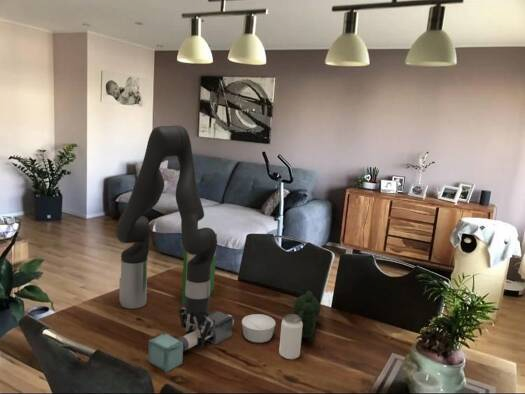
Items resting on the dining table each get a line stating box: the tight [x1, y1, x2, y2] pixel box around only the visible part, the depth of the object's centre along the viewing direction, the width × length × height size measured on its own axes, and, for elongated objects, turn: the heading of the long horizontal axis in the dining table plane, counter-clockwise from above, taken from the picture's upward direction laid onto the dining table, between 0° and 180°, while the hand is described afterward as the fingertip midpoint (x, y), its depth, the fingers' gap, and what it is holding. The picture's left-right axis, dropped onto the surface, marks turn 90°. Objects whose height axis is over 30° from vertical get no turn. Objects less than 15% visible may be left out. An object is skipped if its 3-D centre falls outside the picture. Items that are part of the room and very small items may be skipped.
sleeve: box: [199, 309, 234, 346], centre depth 137 cm, size 8×8×6 cm
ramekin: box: [241, 313, 276, 344], centre depth 139 cm, size 11×11×5 cm
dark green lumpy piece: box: [293, 290, 321, 342], centre depth 144 cm, size 9×19×25 cm
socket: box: [147, 332, 184, 373], centre depth 120 cm, size 8×6×6 cm
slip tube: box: [176, 314, 235, 352], centre depth 134 cm, size 4×22×4 cm, turn 143°
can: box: [278, 313, 303, 360], centre depth 129 cm, size 6×6×12 cm
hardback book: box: [181, 233, 218, 305], centre depth 165 cm, size 18×7×24 cm, turn 170°
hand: (195, 344), depth 130 cm, fingers closed on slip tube, 4 cm apart
